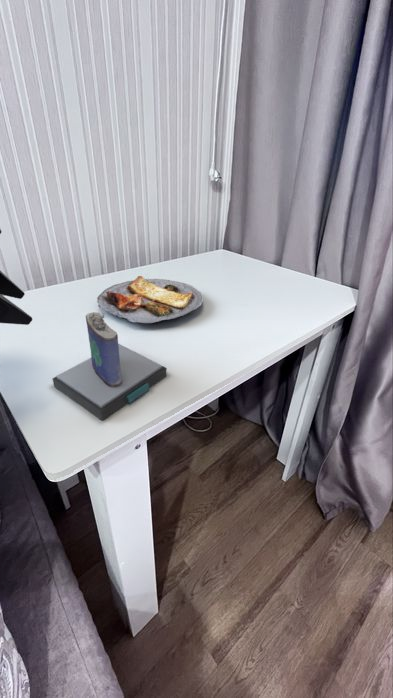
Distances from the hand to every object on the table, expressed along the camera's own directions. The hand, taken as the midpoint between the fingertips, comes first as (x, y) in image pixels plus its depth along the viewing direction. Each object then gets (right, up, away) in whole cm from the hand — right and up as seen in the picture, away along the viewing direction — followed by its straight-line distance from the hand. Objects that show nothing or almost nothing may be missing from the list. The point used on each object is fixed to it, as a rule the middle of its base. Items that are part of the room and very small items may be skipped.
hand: (26, 308), depth 48 cm
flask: (+10, -10, +6) cm, 15 cm away
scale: (+11, -11, +8) cm, 17 cm away
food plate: (+14, +5, +33) cm, 36 cm away
